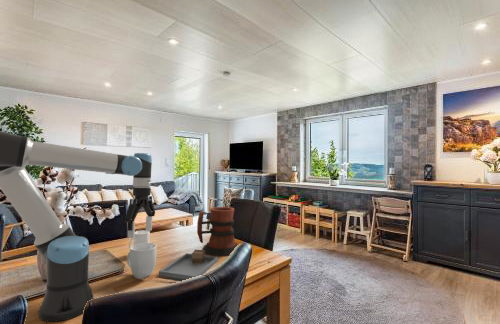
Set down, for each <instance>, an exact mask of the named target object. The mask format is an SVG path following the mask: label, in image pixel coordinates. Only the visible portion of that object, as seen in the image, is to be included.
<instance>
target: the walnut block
mask: <svg viewBox="0 0 500 324" xmlns="http://www.w3.org/2000/svg"><path fill="white" fill-rule="evenodd" d="M191 254H192V263H201V264H202V263H203V261H204V260H205V256H206V253H205V250H203V249H194V250H193V251H192V252H191Z"/></svg>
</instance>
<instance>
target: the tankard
mask: <svg viewBox="0 0 500 324" xmlns="http://www.w3.org/2000/svg"><path fill="white" fill-rule="evenodd" d="M209 210H210V211H209V212H210V218H211V219H209V220H206V221H205V220H203V219H204V214H205V212H204V211H203V210H201V211H199V213H198V218H197V224H196V226H197V231H196V232H197V236H198V239H199V242H200V243H201V244H204V240H203V234H210V236H209V240H208V242H207V243H206V244H205V245H203V246H202V250H205V255H207V256H213V257H227V256H230V255H229V254H230V253H231V252H232V251H233V250H234V248H235V247H236V246H237V245H239V244H238V243H237V242H236V240H235V236H234V234H235V229H234V228H233V225H235V219H234V214H235V208H234V207H228V206H214V207H211V208H210V209H209ZM203 225H211V228H209V230H203Z"/></svg>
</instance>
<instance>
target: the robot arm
mask: <svg viewBox="0 0 500 324" xmlns="http://www.w3.org/2000/svg"><path fill="white" fill-rule="evenodd" d="M152 161H153V159H152V154H150V153H148V152H147V153H145V152H135V153H134V154H133V155H126V154H125V155H124V154H118V153H111V152H106V151H105V152H104V151H100V150H99V151H98V150H92V149H86V148H79V147H74V146H66V145H60V144H55V143H48V142H47V143H46V142H40V141H34V140H32V139H31V138H30V137H29V136H23V135H17V134H13V133H9V132H5V131H2V130H0V191H2V193H3V194H4V196H5V197H6V198H7V199H8V201H9V203H10V204H11V205H12V208H14V209H15V211H16V212H17V214H18V215H19V217H20V218H21V219H22V220H23V222H24V223H25V225H26V226H27V228H28V229H29V230H30V232H31V233H32V234H33V236H34V242H33V245H34V246H35V248H36V249H37V251H38V252H39V253H40V255H41V256H42V258H43V259H44V261H45V264H46V290H45V291H46V292H45V293H44V296H43V299H42V302H41V305H40V306H39V309H38V310H39V311H38V318H39V319H40V320H41V321H42V322H43V321H44V322H48V321H51V322H52V321H54V322H61V321H66V320H70V319H73V318H76V317H78V316H80V315H83V314H84V313H83V310H84V307H85V305H86V303H87V301H89V300H91V299H93V300H94V294H93V292H92V288H91V286H90V284H89V261H90V260H89V258H90V257H89V255H90V254H89V253H90V245H89V244H90V243H89V240H88V238H86V237H85V236H79V235H76V233H75V232H74V231H73V229H72V228H71V227H70V225H69V224H66V223H62V222H61V220H60V219H59V217H58V216H57V214H56V213H55V211H54V209H53V208H52V207H51V205H50V204H49V202H48V201H47V200H46V199H47V198H45V196H44V195H43V194H42V192H41V190H40V188H39V187H38V186H37V184H36V183H35V182H34V180H33V178H32V177H31V175H30V174H29V172H28V170H27V169H26V166H27V165H29V166H40V167H48V168H55V169H56V168H57V169H67V170H68V169H69V170H76V171H77V170H78V171H84V172H85V171H86V172H96V173H104V174H107V175H122V176H123V175H124V176H129V177H130V176H131V177H133V179H132V186H133V188H132V196H133V197H134V198H130V199H129V205H128V207H127V210H126V213H125V216H124V223H127V238H129V239H131V238H134V236H135V232H136V231H135V229H136V222H135V220H136V217H137V215H138V214H139V211H140V210H141V209H143V210H144V212H145V213H146V217H145V230H147V231H152V230H153V217H155V216H156V215H155V214H156V210H155V206H154V201H153V196H152V195H151V194H152V193H151V192H152V189H151V186H152V183H151V182H152V166H153V165H152V164H153V162H152Z"/></svg>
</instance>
